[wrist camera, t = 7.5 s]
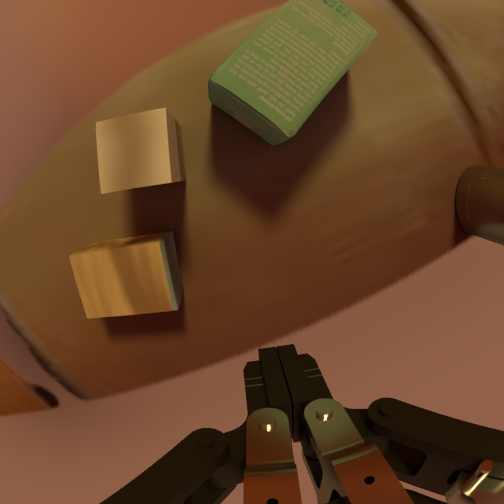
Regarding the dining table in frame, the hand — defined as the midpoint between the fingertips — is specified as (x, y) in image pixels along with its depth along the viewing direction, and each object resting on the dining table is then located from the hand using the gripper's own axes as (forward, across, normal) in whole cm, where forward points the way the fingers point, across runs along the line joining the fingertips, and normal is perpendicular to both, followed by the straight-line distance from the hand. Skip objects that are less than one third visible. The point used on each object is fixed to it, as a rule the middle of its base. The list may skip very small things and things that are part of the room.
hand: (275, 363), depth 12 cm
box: (+17, -5, -17) cm, 25 cm away
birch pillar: (+16, +7, -10) cm, 21 cm away
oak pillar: (+14, +7, 0) cm, 16 cm away
